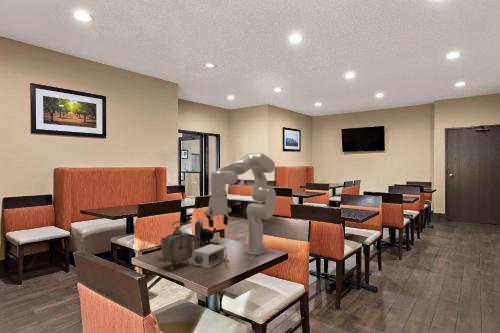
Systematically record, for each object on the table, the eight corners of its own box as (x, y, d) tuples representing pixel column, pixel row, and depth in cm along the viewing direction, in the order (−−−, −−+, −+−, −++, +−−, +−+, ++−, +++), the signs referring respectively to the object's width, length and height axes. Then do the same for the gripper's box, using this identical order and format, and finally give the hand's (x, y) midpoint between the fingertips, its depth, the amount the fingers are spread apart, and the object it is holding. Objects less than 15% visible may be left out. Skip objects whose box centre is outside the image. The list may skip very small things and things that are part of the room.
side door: (225, 259, 173) (225, 248, 173) (228, 259, 173) (228, 247, 173) (225, 268, 159) (225, 255, 158) (229, 268, 159) (229, 255, 159)
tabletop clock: (170, 271, 155) (170, 224, 155) (161, 267, 161) (161, 222, 161) (192, 264, 166) (192, 220, 166) (183, 261, 172) (182, 218, 172)
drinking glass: (173, 261, 171) (173, 240, 171) (157, 260, 173) (157, 240, 173) (180, 256, 181) (180, 236, 181) (165, 255, 183) (165, 236, 183)
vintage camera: (217, 253, 189) (218, 222, 189) (193, 252, 189) (194, 221, 190) (219, 249, 199) (220, 219, 199) (196, 248, 199) (197, 218, 199)
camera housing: (210, 257, 179) (210, 244, 179) (225, 260, 174) (225, 246, 174) (191, 265, 164) (191, 251, 164) (207, 269, 158) (207, 254, 158)
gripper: (226, 192, 167) (226, 222, 167) (201, 194, 156) (201, 227, 156) (235, 193, 162) (235, 224, 162) (209, 195, 150) (209, 229, 150)
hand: (218, 225), depth 159 cm, fingers open, 9 cm apart
